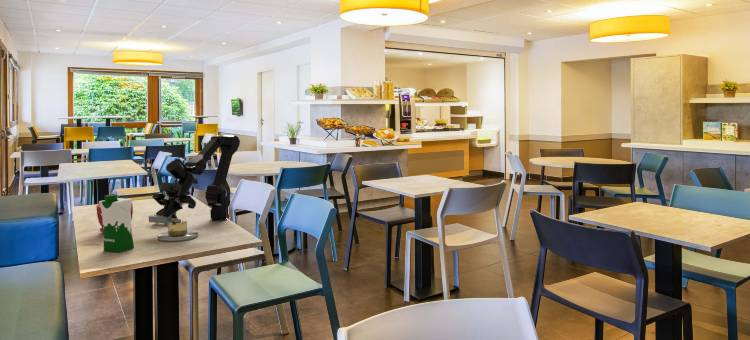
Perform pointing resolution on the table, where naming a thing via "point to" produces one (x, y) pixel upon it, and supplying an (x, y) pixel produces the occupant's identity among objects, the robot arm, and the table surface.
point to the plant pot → (101, 216)
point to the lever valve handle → (170, 224)
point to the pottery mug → (160, 213)
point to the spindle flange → (177, 238)
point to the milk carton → (116, 223)
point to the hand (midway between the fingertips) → (163, 217)
